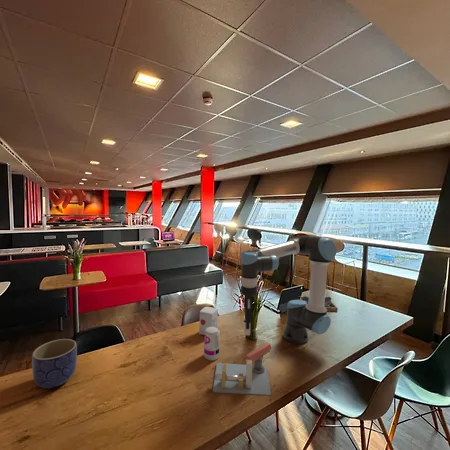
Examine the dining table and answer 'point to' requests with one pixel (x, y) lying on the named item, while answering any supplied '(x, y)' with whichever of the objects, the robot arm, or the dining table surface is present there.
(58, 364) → the planter
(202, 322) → the supplement box
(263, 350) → the handle
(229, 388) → the board
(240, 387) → the eye bracket
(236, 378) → the sliding bolt
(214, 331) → the supplement can
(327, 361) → the dining table surface
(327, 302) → the towel
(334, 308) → the towel corral
